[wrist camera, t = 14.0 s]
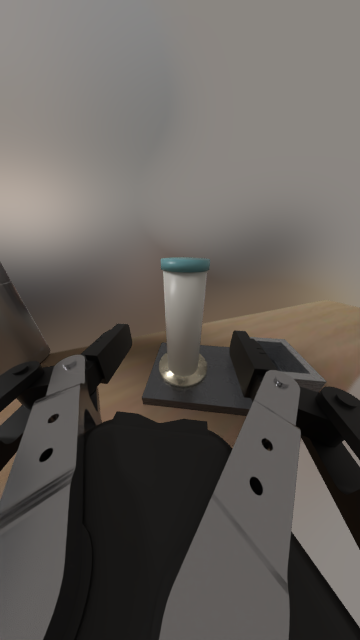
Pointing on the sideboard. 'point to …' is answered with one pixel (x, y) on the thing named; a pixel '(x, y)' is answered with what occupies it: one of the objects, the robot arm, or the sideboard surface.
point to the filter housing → (221, 379)
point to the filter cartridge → (184, 311)
